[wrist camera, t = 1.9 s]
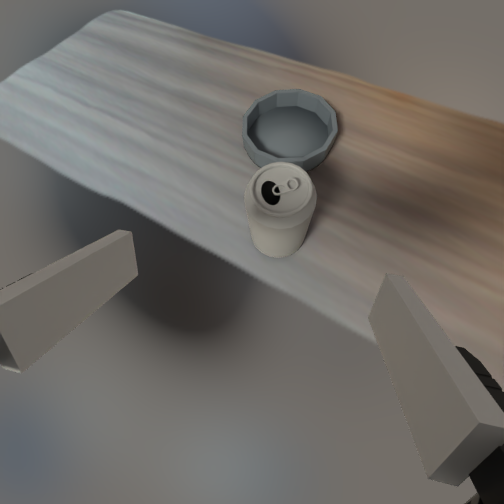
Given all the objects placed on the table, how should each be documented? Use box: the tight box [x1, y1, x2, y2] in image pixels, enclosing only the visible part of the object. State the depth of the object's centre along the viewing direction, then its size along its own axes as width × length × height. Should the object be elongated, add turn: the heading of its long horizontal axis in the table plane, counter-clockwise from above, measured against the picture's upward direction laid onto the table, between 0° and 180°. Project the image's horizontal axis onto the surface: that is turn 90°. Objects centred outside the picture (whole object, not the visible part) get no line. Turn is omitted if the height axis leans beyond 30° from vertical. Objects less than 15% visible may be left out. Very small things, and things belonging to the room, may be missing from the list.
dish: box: [242, 89, 338, 172], centre depth 38 cm, size 14×14×3 cm
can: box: [244, 162, 317, 258], centre depth 29 cm, size 8×8×12 cm
